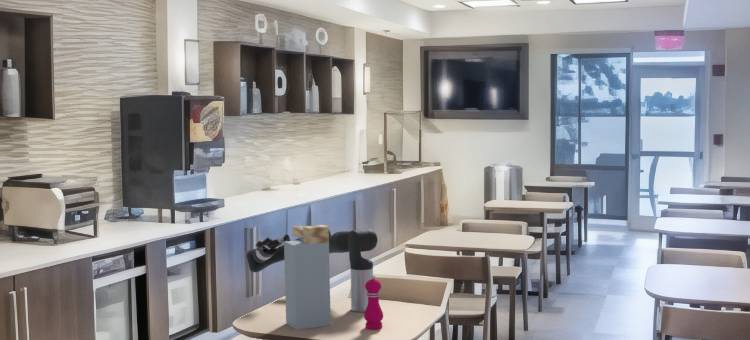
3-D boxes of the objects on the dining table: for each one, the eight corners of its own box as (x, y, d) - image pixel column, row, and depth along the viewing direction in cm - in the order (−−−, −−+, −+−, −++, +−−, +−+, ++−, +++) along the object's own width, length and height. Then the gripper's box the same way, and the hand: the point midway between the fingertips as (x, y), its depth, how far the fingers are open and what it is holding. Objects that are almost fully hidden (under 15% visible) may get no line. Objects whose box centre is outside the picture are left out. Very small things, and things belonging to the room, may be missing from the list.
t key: (305, 234, 331) (305, 219, 331) (328, 242, 310) (328, 226, 309) (287, 235, 328) (286, 220, 327) (309, 244, 306) (308, 228, 306)
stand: (319, 318, 322) (317, 235, 320) (330, 325, 312) (328, 239, 310) (286, 323, 316) (283, 238, 314) (296, 330, 306) (294, 242, 304)
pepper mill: (381, 330, 304) (380, 277, 302) (362, 329, 305) (361, 276, 304) (385, 325, 311) (384, 273, 310) (366, 324, 312) (365, 273, 311)
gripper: (283, 254, 359) (295, 243, 346) (253, 260, 352) (264, 249, 339) (279, 238, 361) (291, 227, 348) (249, 244, 354) (260, 232, 341)
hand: (278, 238), depth 343 cm, fingers open, 8 cm apart
